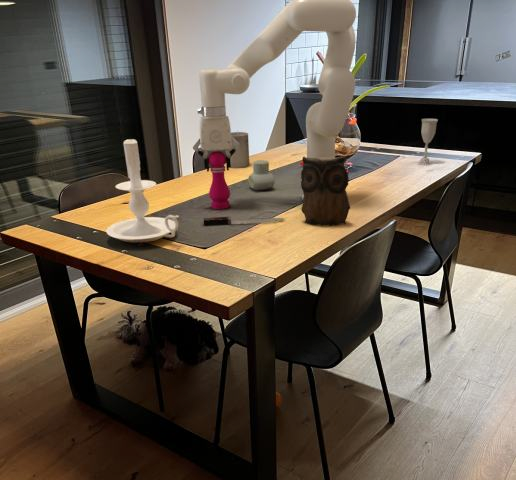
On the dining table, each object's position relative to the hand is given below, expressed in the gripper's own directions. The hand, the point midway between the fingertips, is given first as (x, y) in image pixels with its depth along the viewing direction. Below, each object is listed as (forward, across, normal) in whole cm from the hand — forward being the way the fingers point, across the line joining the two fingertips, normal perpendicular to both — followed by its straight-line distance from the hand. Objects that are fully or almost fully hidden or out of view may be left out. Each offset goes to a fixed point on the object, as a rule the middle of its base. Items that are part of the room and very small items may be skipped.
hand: (217, 169), depth 180 cm
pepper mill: (+13, 0, 0) cm, 13 cm away
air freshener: (+13, +16, +22) cm, 31 cm away
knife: (+13, +7, -19) cm, 24 cm away
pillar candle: (+13, +9, +65) cm, 67 cm away
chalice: (+13, +90, +52) cm, 105 cm away
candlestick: (+13, -22, -30) cm, 39 cm away
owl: (+13, +33, -21) cm, 42 cm away
